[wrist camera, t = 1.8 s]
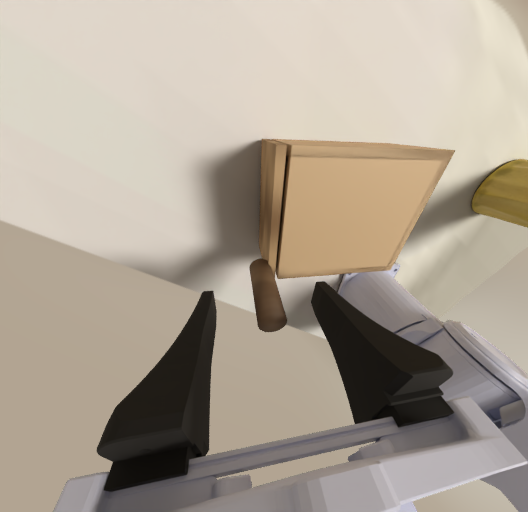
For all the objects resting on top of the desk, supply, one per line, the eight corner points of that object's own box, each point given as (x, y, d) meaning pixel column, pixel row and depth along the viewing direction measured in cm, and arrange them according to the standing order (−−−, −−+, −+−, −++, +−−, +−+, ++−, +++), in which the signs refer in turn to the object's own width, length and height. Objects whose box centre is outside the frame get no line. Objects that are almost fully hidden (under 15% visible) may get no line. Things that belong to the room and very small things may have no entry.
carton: (355, 239, 23) (390, 270, 18) (266, 243, 21) (277, 278, 16) (390, 143, 17) (455, 150, 12) (271, 139, 15) (292, 145, 10)
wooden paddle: (264, 245, 21) (289, 330, 12) (245, 245, 20) (257, 334, 12) (269, 139, 15) (323, 156, 6) (242, 138, 15) (263, 155, 6)
